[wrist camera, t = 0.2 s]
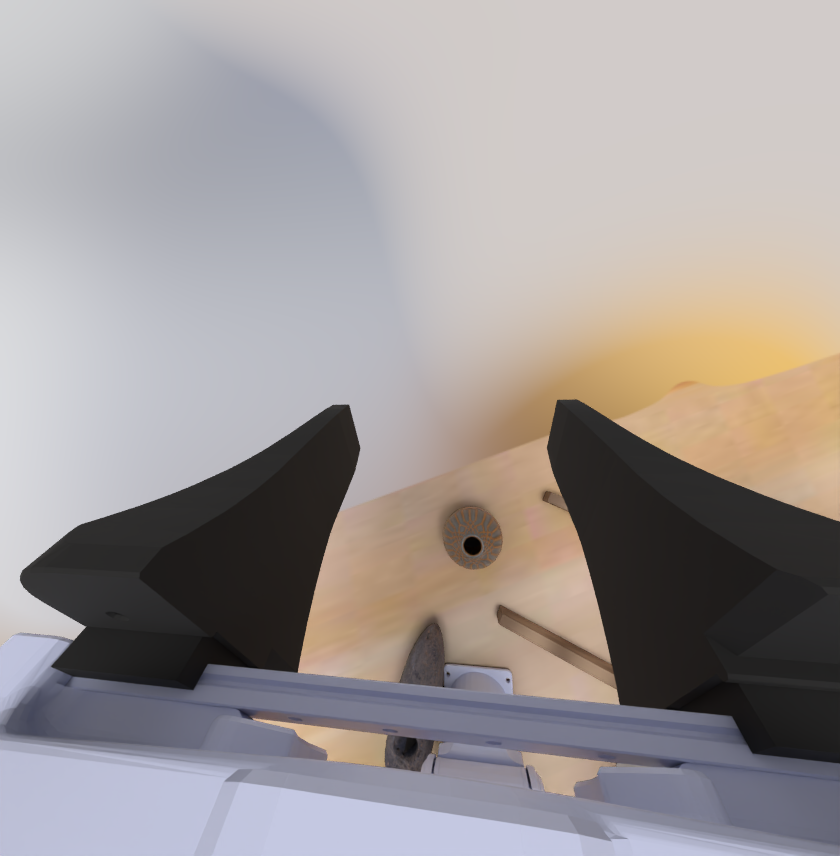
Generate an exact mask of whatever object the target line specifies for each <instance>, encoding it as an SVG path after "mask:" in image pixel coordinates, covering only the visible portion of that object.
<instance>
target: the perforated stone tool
mask: <svg viewBox="0 0 840 856" xmlns="http://www.w3.org/2000/svg"><path fill="white" fill-rule="evenodd" d="M443 681H444V646H443V638H442V633H441V630H440V628H439V626H438V624H435V623H434V624H431V625H429V626H428V627H427V628H426V629H425V630H424V632H423V633H422V634H421V636H420V637H419V639H418V640H417V642H416V644H415V645H414V647H413V649H412V651H411V653H410V655H409V658H408V660H407V663H406V666H405V669H404V671H403V674H402V677H401V680H400V683H405V684H415V685H425V686H435V687H443ZM433 743H434V740H427V739H419V738H411V737H403V736H394V735H388V736H387V740H386V748H385V765H386V767H387V768H395V769H402V770H409V771H416V772H421V768H422V764H423V763H424V761H425V760H426V759H427V756H428V755H429V754H431V750H432V746H433Z"/></svg>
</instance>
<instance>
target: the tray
mask: <svg viewBox="0 0 840 856" xmlns="http://www.w3.org/2000/svg"><path fill="white" fill-rule="evenodd" d="M543 501H546V502H548V503H550V504H552V505H555V506H557V507H559V508H561V509H564V510H566V511H568V508H567V506H566V504H565V501H564V499H563V497H561V496H559V495H556V494H554V493H552V492H546V493H545V496H544V498H543ZM568 512H569V511H568ZM497 618H498V623H499V624H500V625H501V626H503V627H505V628H507V629H509V630H510V631H512V632H514V633H516V634H518V635H519V636H521V637H523V638H525V639H527V640H528V641H530V642H532V643H534V644H536V645H537V646H539V647H541V648H543V649H545V650H546V651H548V652H550V653H552V654H554V655H555V656H557V657H559V658H561V659H563V660H564V661H566V662H568V663H570V664H572V665H573V666H575V667H577V668H579V669H581V670H582V671H584V672H586V673H588V674H590V675H591V676H593V677H595V678H597V679H599V680H601V681H602V682H604V683H606V684H608V685H610V686H611V687H613V688H615V689H617V687H616V682H615V677H614V672H613V668H612V665H611V664H609V663H607V662H605V661H603V660H601V659H600V658H598V657H596V656H594V655H592V654H590V653H588V652H587V651H585V650H583V649H581V648H579V647H577V646H575V645H574V644H572V643H570V642H568V641H566V640H564V639H562V638H561V637H559V636H557V635H555V634H553V633H551V632H550V631H548V630H546V629H544V628H542V627H540V626H538V625H537V624H535V623H533V622H531V621H529V620H527V619H525V618H524V617H522V616H520V615H518V614H516V613H514V612H512V611H511V610H509V609H507V608H505V607H503V606H501V605H500V608H499V610H498V613H497Z"/></svg>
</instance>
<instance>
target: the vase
mask: <svg viewBox="0 0 840 856" xmlns="http://www.w3.org/2000/svg"><path fill="white" fill-rule="evenodd" d="M443 541H444V545H445V548H446V551H447V553H448V554H449V556H450V557H451V558H452V559H453V560H454V561H455V562H456V563H457V564H459V565H460V566H462V567H464V568H468V569H481V568H485V567H487V566H489V565H490V564H491V563H493V562H494V561H495V560H496V558H497V557H498V555H499V553H500V551H501V548H502V532H501V529H500V526H499V524H498V522H497V521H496V519H495V518H494V517H493V516H492V515H491V514H490V513H488V512H487V511H485V510H483V509H481V508H478V507H464V508H461V509H459V510H457V511H456V512H454V513H453V514H452V515H451V516H450V517H449V519H448V520H447V522H446V524H445V527H444V532H443Z"/></svg>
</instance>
